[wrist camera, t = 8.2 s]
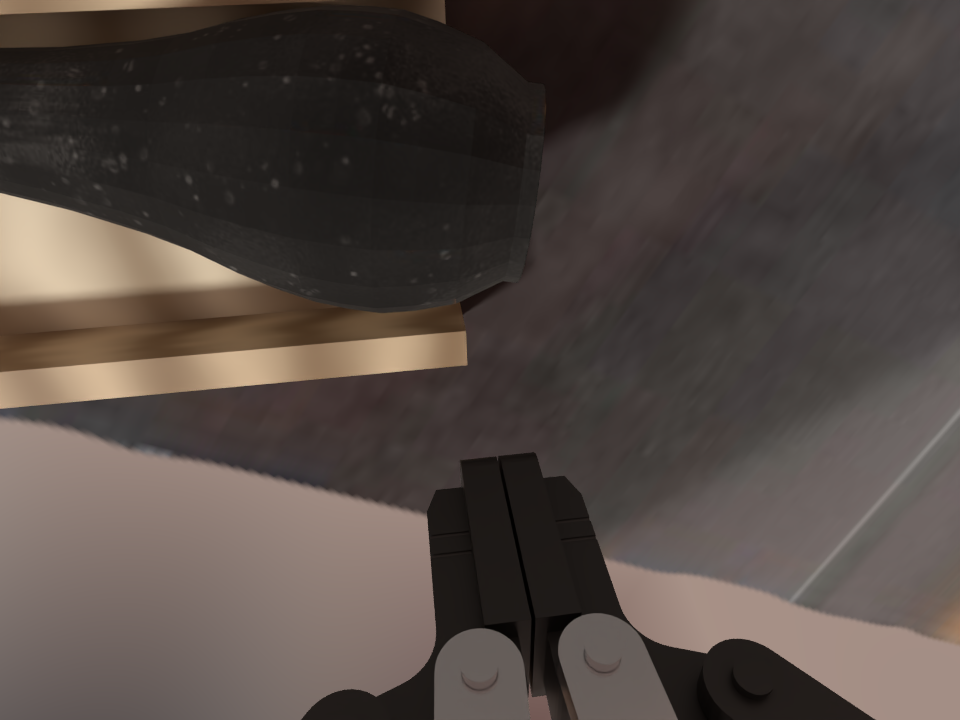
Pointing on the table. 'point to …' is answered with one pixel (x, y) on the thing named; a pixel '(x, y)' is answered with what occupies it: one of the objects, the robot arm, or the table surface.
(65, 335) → the trough
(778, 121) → the table surface
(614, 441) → the table surface
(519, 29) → the table surface
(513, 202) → the bottle
